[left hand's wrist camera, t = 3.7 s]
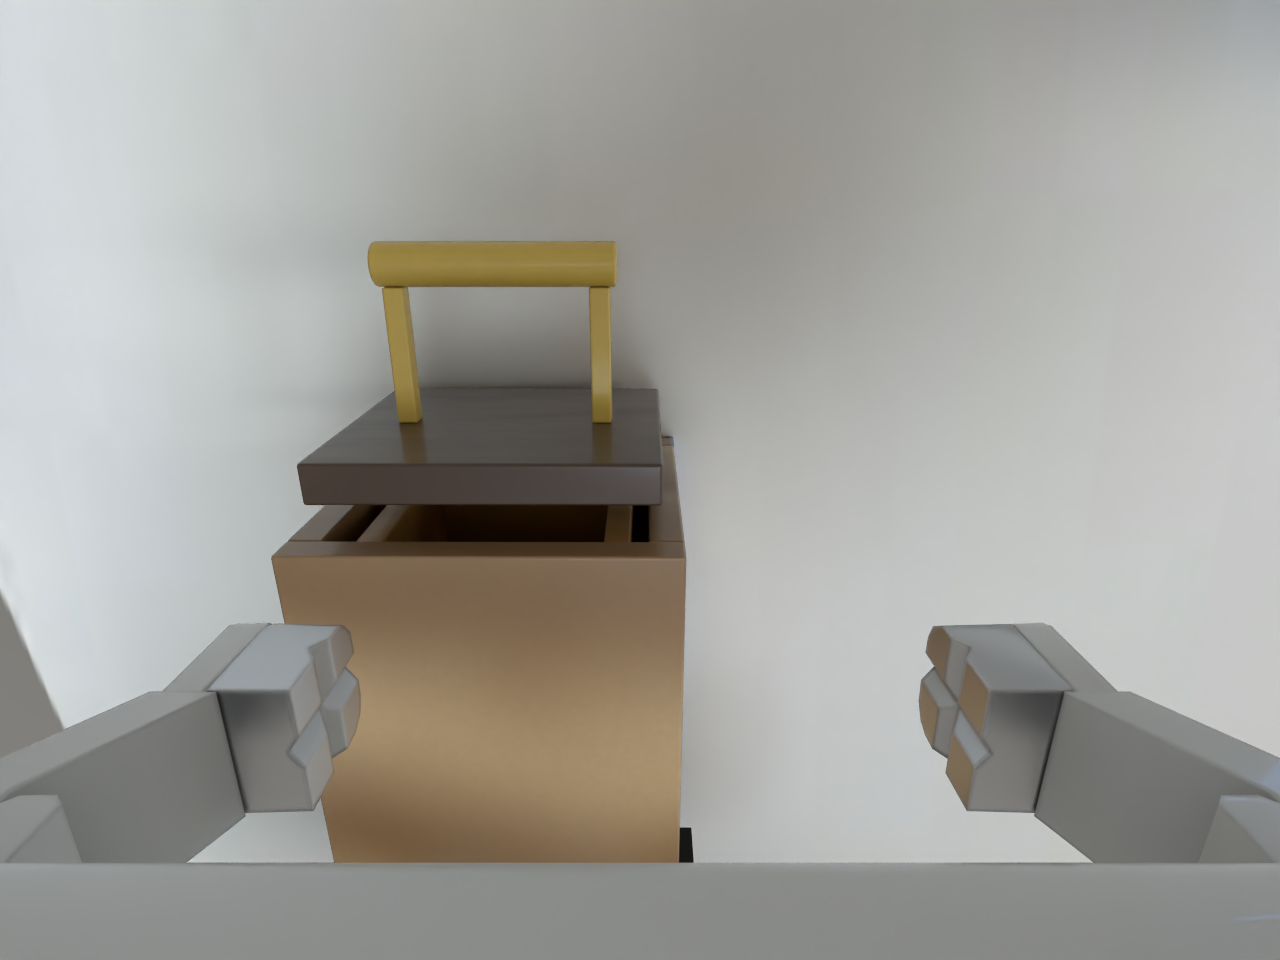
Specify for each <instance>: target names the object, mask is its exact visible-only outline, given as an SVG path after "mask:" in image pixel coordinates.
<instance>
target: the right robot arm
mask: <svg viewBox="0 0 1280 960" xmlns="http://www.w3.org/2000/svg"><path fill="white" fill-rule="evenodd" d="M679 863H693V848H692V834H691V828H680V834H679Z"/></svg>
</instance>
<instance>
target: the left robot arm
mask: <svg viewBox="0 0 1280 960" xmlns="http://www.w3.org/2000/svg"><path fill="white" fill-rule="evenodd" d="M353 654H354V648H353V643H352V638H351V633H350V631H349V630H348V629H347V628H346V627H345V626H344V625H320V624H270V623H245V624H235V625H229V626H228V627H227V628H226V629H225V630H224V631H223V632H222V633H221V634H220V635H219V636H218V637H217V638H216V639H215V640H214V641H213V642H212V643H211V644H210V645H209V646H208V647H207V648H206V649H205V650H204V651H203V652H202V653H201V654H200V655H199V656H198V657H197V658H196V659H195V660H194V661H193V662H192V663H191V664H190V665H189V666H188V667H187V668H186V669H185V670H184V671H183V672H182V673H181V674H180V675H179V676H177V677H176V678H175V679H174V680H173V681H172V682H171V683H170V684H169V685H168V686H167V687H166V688H165V689H164V690H163V691H162V692H148V693H146V694H144V695H141V696H139V697H137V698H135V699H132V700H130V701H128V702H126V703H123V704H121V705H119V706H116V707H114V708H112V709H110V710H107V711H105V712H103V713H101V714H98V715H96V716H94V717H92V718H89V719H87V720H85V721H83V722H80V723H78V724H76V725H74V726H71V727H69V728H67V729H64V730H62V731H60V732H58V733H55V734H53V735H51V736H49V737H46V738H44V739H42V740H40V741H37V742H35V743H33V744H31V745H28V746H26V747H24V748H22V749H19V750H17V751H15V752H12V753H10V754H8V755H6V756H4V757H1V758H0V960H1280V758H1278V757H1276V756H1274V755H1272V754H1269V753H1267V752H1265V751H1263V750H1260V749H1258V748H1256V747H1254V746H1251V745H1249V744H1247V743H1245V742H1242V741H1240V740H1238V739H1236V738H1233V737H1231V736H1229V735H1227V734H1224V733H1222V732H1220V731H1218V730H1215V729H1213V728H1211V727H1208V726H1206V725H1204V724H1202V723H1199V722H1197V721H1195V720H1193V719H1190V718H1188V717H1186V716H1184V715H1181V714H1179V713H1177V712H1175V711H1172V710H1170V709H1168V708H1166V707H1163V706H1161V705H1159V704H1157V703H1154V702H1152V701H1150V700H1148V699H1145V698H1143V697H1141V696H1139V695H1136V694H1134V693H1132V692H1118V691H1117V690H1116V689H1115V688H1114V687H1113V686H1112V685H1111V684H1110V683H1109V682H1108V681H1107V680H1106V679H1105V678H1104V677H1103V676H1102V675H1101V674H1100V673H1099V672H1098V671H1096V670H1095V669H1094V668H1093V667H1092V666H1091V665H1090V664H1089V663H1088V662H1087V661H1086V660H1085V659H1084V658H1083V657H1082V656H1081V655H1080V654H1079V653H1078V652H1077V651H1076V650H1075V649H1074V648H1073V647H1072V646H1071V645H1070V644H1069V643H1068V642H1067V641H1066V640H1065V639H1064V638H1063V637H1062V636H1061V635H1060V634H1059V633H1058V632H1057V631H1056V630H1055V629H1054V628H1053V627H1052V626H1049V625H1047V624H1044V623H1023V624H993V625H953V626H933V628H932V630H931V632H930V634H929V636H928V642H927V647H926V654H927V655H928V657H929V659H930V660H931V662H932V663H933V665H934V667H933V668H932V669H931V670H930V671H929V672H928V673H927V674H926V675H925V677H924V678H923V679H922V680H921V686H920V694H919V708H920V718H921V723H922V726H923V729H924V733H925V736H926V737H927V739H928V741H929V743H930V745H931V747H932V749H934V750H935V751H937V752H938V753H940V754H941V755H943V756H944V757H946V758H947V759H948V761H947V767H946V774H947V776H948V778H949V780H950V782H951V783H952V785H953V787H954V789H955V790H956V792H957V794H958V796H959V798H960V799H961V801H962V803H963V805H964V807H965V808H966V810H967V811H987V812H1023V813H1035V815H1034V816H1035V817H1036V818H1038V819H1039V820H1040V821H1041V822H1043V823H1044V824H1045V825H1047V826H1048V827H1049V828H1050V829H1052V830H1053V831H1054V832H1056V833H1057V834H1058V835H1059V836H1061V837H1062V838H1063V839H1064V840H1066V841H1067V842H1068V843H1070V844H1071V845H1072V846H1073V847H1075V848H1076V849H1077V850H1078V851H1080V852H1081V853H1082V854H1084V855H1085V856H1086V857H1087V858H1089V859H1090V860H1091V861H1092V862H1094V863H186V862H188V861H189V860H190V859H192V858H193V857H194V856H195V855H197V854H198V853H199V852H201V851H202V850H203V849H204V848H206V847H207V846H208V845H209V844H211V843H212V842H213V841H215V840H216V839H217V838H218V837H220V836H221V835H222V834H223V833H225V832H226V831H227V830H229V829H230V828H231V827H232V826H234V825H235V824H236V823H238V822H239V821H240V820H241V819H243V818H244V817H245V813H257V812H292V811H313V810H314V808H315V807H316V805H317V803H318V801H319V799H320V798H321V796H322V794H323V792H324V791H325V789H326V787H327V785H328V783H329V782H330V780H331V778H332V776H333V774H334V767H333V761H332V759H333V758H334V757H336V756H337V755H339V754H340V753H342V752H343V751H345V750H346V749H348V747H349V745H350V743H351V741H352V739H353V737H354V735H355V733H356V730H357V725H358V721H359V717H360V713H361V692H360V685H359V680H358V679H357V678H356V677H355V675H354V674H353V673H352V672H351V671H350V670H349V669H348V668H347V667H346V665H347V663H348V662H349V660H350V659H351V657H352V655H353Z"/></svg>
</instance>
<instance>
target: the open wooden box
mask: <svg viewBox="0 0 1280 960" xmlns="http://www.w3.org/2000/svg"><path fill="white" fill-rule="evenodd" d="M661 441H662V456H663V503H662V505H660V506H635V542H356V541H357V540H358V539H359V537H360V536H361V535H362V534H363V533H364V532H365V530H366V529H367V528H368V527H369V526H370V524H371V523H372V522H373V521H374V520H375V519H376V517H377V516H378V515H379V514H380V513H381V512H382V510H383V509H384V508H385V507H386V506H387V505H325V506H324V507H323V508H322V509H321V510H320V511H319V512H318V513H317V514H316V515H314V516H313V517H312V518H311V519H310V520H309V521H308V522H307V523H306V524H305V525H304V526H303V527H302V528H301V529H300V530H299V531H298V532H297V533H295V534H294V535H293V536H292V537H291V538H290V539H289V540H288V542H286V543H285V544H284V545H283V546H282V547H281V548H280V549H279V550H278V551H277V552H276V553H275V554H274V555H273V556H272V558H271V560H272V564H273V569H274V574H275V579H276V584H277V588H278V593H279V598H280V603H281V608H282V613H283V617H284V622H285V624H320V625H344V626H345V627H346V628H347V629H348V630H349V631H350V633H351V638H352V643H353V648H354V654H353V655H352V657H351V659H350V660H349V662H348V663H347V665H346V667H347V668H348V669H349V670H350V671H351V672H352V673H353V674H354V675H355V677H356V678H357V679H358V680H359V685H360V692H361V713H360V717H359V721H358V725H357V730H356V733H355V735H354V737H353V739H352V741H351V743H350V745H349V747H348V749H346V750H345V751H343V752H342V753H340V754H339V755H337V756H336V757H334V758H333V759H332V761H333V767H334V774H333V776H332V778H331V780H330V782H329V783H328V785H327V787H326V789H325V791H324V792H323V794H322V796H321V801H322V806H323V810H324V815H325V820H326V825H327V830H328V835H329V839H330V844H331V849H332V854H333V859H334V863H679V834H680V794H681V753H682V712H683V672H684V631H685V590H686V552H685V545H684V535H683V526H682V517H681V508H680V500H679V491H678V482H677V473H676V465H675V456H674V442H673V437H670V438H661Z"/></svg>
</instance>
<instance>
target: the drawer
mask: <svg viewBox="0 0 1280 960" xmlns="http://www.w3.org/2000/svg"><path fill="white" fill-rule="evenodd" d="M368 267H369V272H370V276H371V279H372V281H373V283H374V284H375V285H376V286H379V287H384V288H382V293H383V301H384V309H385V317H386V325H387V333H388V340H389V348H390V356H391V364H392V372H393V380H394V388H395V391H394V392H392V393H391V394H390V395H388V396H387V397H386V398H385V399H383V400H382V401H381V402H379V403H378V404H377V405H375V406H374V407H373V408H371V409H370V410H369V411H367V412H366V413H365V414H363V415H362V416H361V417H359V418H358V419H357V420H355V421H354V422H353V423H351V424H350V425H349V426H347V427H346V428H345V429H343V430H342V431H341V432H339V433H338V434H337V435H335V436H334V437H333V438H331V439H330V440H329V441H327V442H326V443H325V444H323V445H322V446H321V447H319V448H318V449H317V450H315V451H314V452H313V453H312V454H310V455H309V456H308V457H306V458H305V459H304V460H302V461H301V462H300V463H298V465H297V469H298V475H299V480H300V486H301V491H302V496H303V502H304V504H305V505H387V506H386V507H385V508H384V509H383V510H382V512H381V513H380V514H379V515H378V516H377V517H376V519H375V520H374V521H373V522H372V523H371V524H370V526H369V527H368V528H367V529H366V530H365V532H364V533H363V534H362V535H361V536H360V537H359V539H358V540H357V541H356V542H635V506H660V505H662V503H663V456H662V441H661V426H660V411H659V396H658V390H657V389H612V363H611V299H610V287H614V286H616V284H617V245H616V242H614V241H375V242H373V243H371V244H370V246H369V250H368ZM408 287H590V288H589V314H590V353H591V389H419V381H418V373H417V364H416V355H415V346H414V337H413V329H412V320H411V311H410V302H409V293H408Z"/></svg>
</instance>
